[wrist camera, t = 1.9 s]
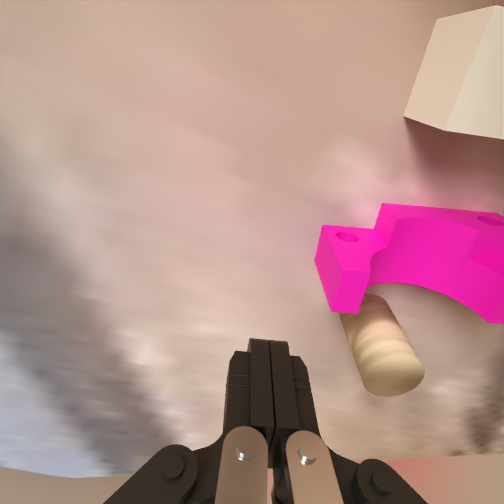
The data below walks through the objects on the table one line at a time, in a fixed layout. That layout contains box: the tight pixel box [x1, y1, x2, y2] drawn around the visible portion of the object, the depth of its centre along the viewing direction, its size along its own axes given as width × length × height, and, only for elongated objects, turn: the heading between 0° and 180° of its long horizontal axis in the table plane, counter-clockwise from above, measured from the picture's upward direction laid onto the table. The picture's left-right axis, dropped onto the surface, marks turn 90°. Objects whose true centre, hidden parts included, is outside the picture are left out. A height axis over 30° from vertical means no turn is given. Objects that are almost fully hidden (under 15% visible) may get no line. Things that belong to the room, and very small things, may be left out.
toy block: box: [314, 203, 504, 324], centre depth 26 cm, size 15×6×8 cm, turn 85°
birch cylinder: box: [340, 294, 424, 396], centre depth 31 cm, size 5×5×8 cm
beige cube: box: [404, 5, 504, 139], centre depth 21 cm, size 6×6×6 cm
